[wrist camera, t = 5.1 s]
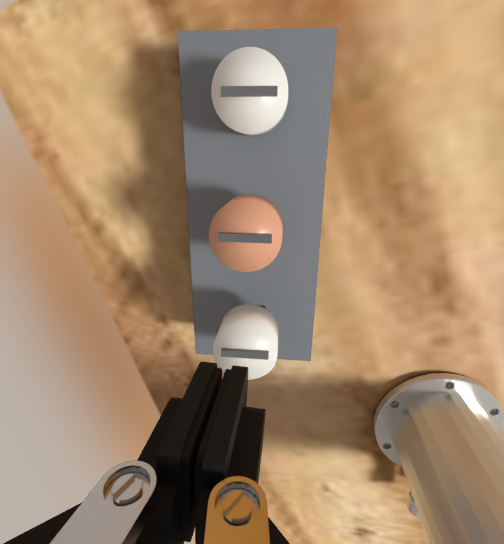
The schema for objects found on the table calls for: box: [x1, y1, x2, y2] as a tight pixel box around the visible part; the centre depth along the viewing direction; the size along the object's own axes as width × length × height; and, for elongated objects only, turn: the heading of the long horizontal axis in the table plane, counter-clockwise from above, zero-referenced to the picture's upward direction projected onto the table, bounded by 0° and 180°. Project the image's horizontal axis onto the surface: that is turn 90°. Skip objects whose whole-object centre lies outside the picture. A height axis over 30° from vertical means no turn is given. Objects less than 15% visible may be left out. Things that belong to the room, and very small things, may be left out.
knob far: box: [213, 304, 279, 380], centre depth 26 cm, size 4×4×6 cm
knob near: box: [211, 47, 288, 136], centre depth 22 cm, size 4×4×6 cm
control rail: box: [178, 28, 337, 361], centre depth 27 cm, size 24×10×5 cm, turn 0°
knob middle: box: [209, 194, 283, 272], centre depth 23 cm, size 4×4×6 cm
